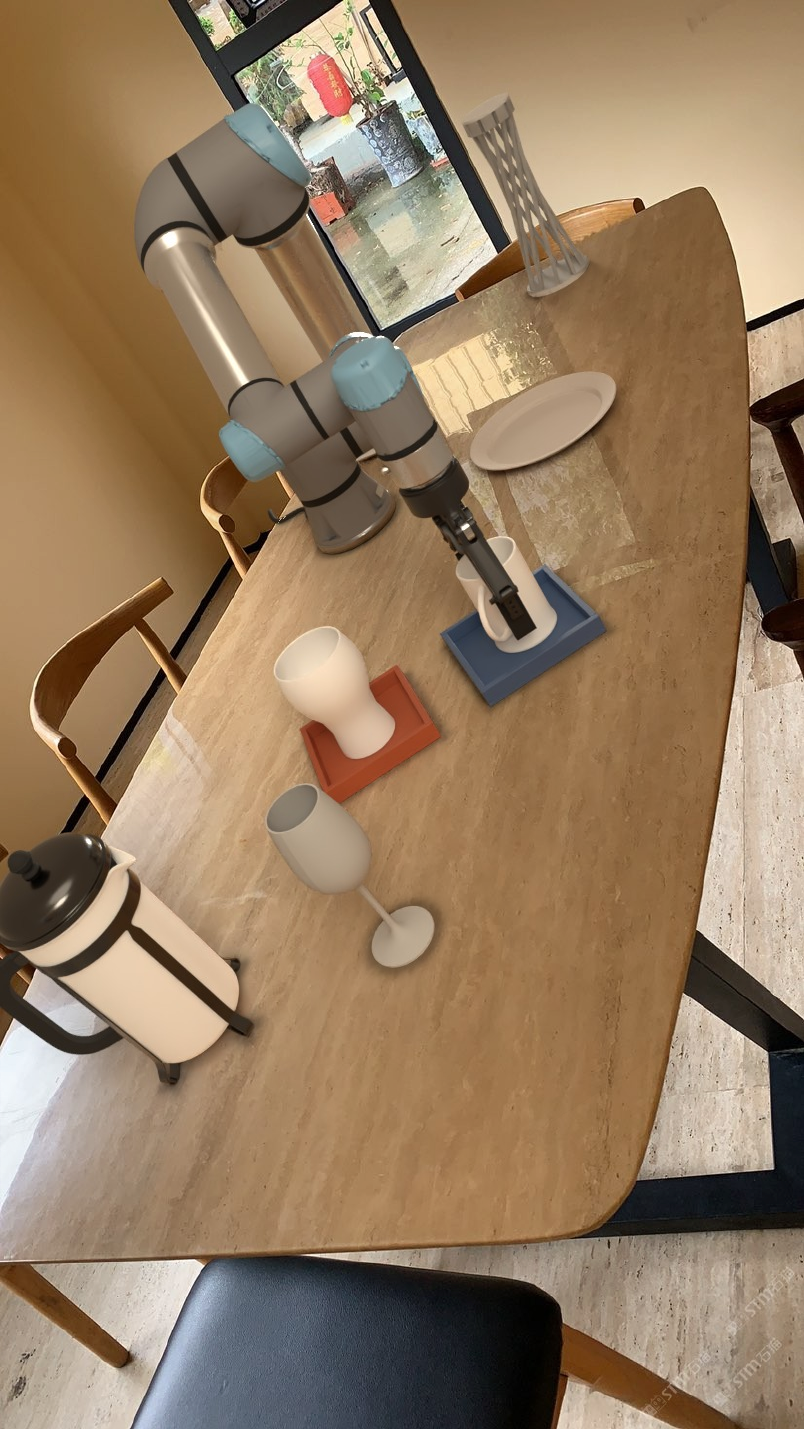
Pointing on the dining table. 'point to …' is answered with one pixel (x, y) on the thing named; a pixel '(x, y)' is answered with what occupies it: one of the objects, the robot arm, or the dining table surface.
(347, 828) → the wineglass
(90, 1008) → the coffee press
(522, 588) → the mug
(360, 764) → the cup tray
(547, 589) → the mug tray
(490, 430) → the plate
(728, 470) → the dining table surface
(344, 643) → the cup
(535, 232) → the grey lattice tower
